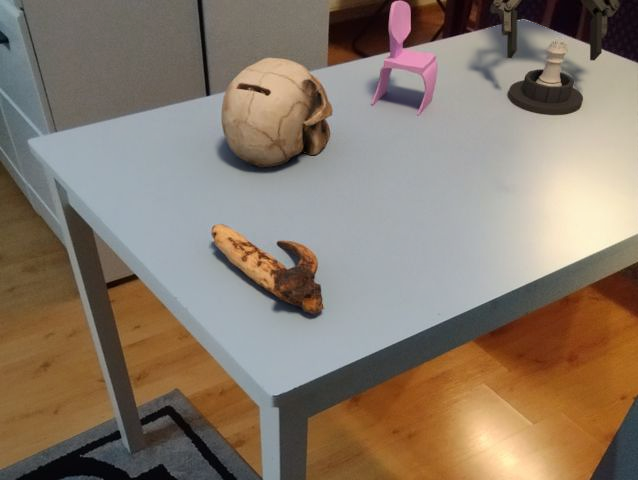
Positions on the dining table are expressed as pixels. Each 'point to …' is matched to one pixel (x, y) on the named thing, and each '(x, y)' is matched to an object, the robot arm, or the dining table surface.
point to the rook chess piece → (553, 64)
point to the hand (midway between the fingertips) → (553, 55)
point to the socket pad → (544, 106)
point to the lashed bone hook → (274, 268)
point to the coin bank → (275, 113)
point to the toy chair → (406, 55)
